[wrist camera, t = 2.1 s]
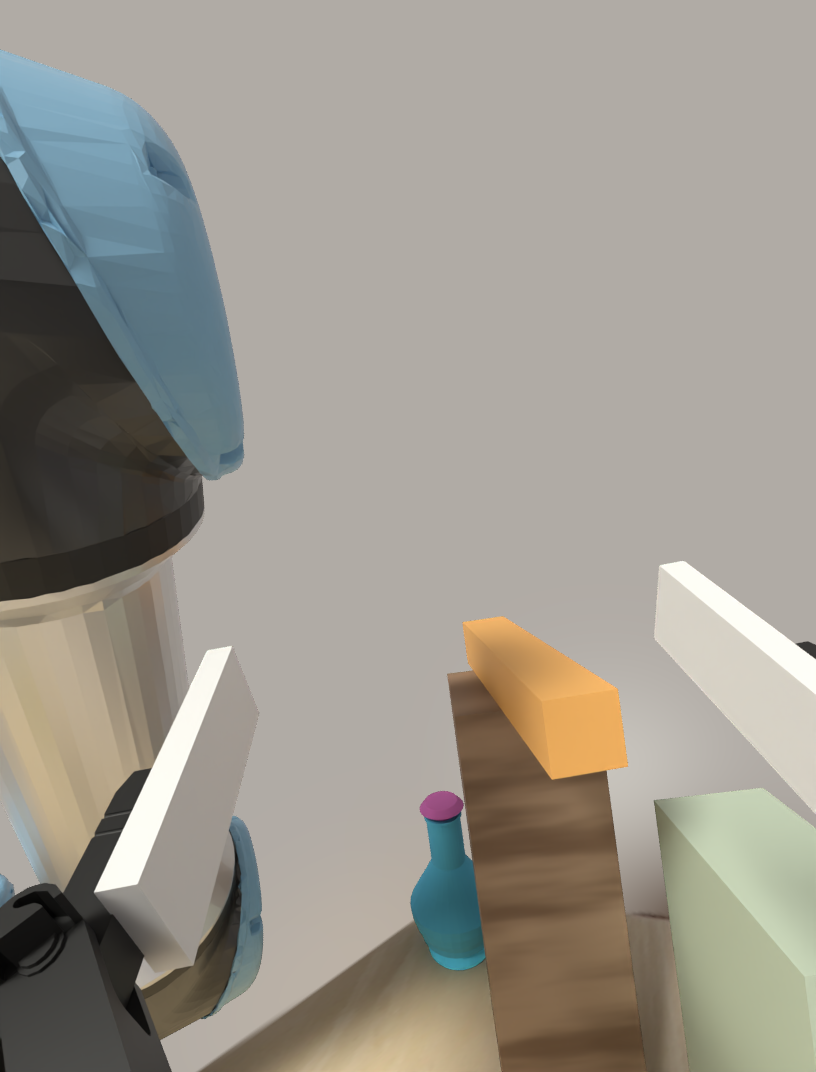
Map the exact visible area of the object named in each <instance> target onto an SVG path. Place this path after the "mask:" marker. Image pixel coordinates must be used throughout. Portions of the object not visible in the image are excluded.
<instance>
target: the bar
mask: <svg viewBox="0 0 816 1072" xmlns="http://www.w3.org/2000/svg"><path fill="white" fill-rule="evenodd" d="M463 630H464V637H465V645H466V652H467V659H468V664H469V665H470V667H471V668H472V669H473V671H474V672H475V674H476V675H477V676H478V678H479V679H480V681H481V682H482V683H483V685H484V686H485V687H486V689H487V690H488V692H489V693H490V694H491V696H492V697H493V699H494V700H495V701H496V703H497V704H498V706H499V707H500V708H501V710H502V711H503V712H504V714H505V715H506V717H507V718H508V719H509V721H510V722H511V724H512V725H513V726H514V728H515V729H516V731H517V732H518V733H519V735H520V736H521V737H522V739H523V740H524V742H525V743H526V744H527V746H528V747H529V749H530V750H531V751H532V753H533V754H534V756H535V757H536V758H537V760H538V761H539V762H540V764H541V765H542V767H543V768H544V769H545V771H546V772H547V774H548V775H549V776H550V778H551V779H552V780H554V779H559V778H565V777H571V776H577V775H582V774H588V773H594V772H600V771H605V770H611V769H616V768H623V767H628V762H627V754H626V747H625V740H624V732H623V724H622V717H621V710H620V702H619V694H618V689H617V688H616V687H614V686H612V685H611V684H609V683H608V682H606V681H604V680H603V679H601V678H600V677H598V676H597V675H595V674H593V673H592V672H590V671H589V670H587V669H586V668H584V667H582V666H581V665H579V664H578V663H576V662H574V661H573V660H571V659H570V658H568V657H566V656H565V655H563V654H562V653H560V652H559V651H557V650H556V649H554V648H552V647H551V646H549V645H547V644H546V643H544V642H543V641H541V640H540V639H538V638H537V637H535V636H533V635H532V634H530V633H528V632H527V631H525V630H524V629H522V628H521V627H519V626H518V625H516V624H514V623H513V622H511V621H510V620H508V619H507V618H505V617H503V616H501V617H494V618H488V619H481V620H474V621H468V622H463Z"/></svg>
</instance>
